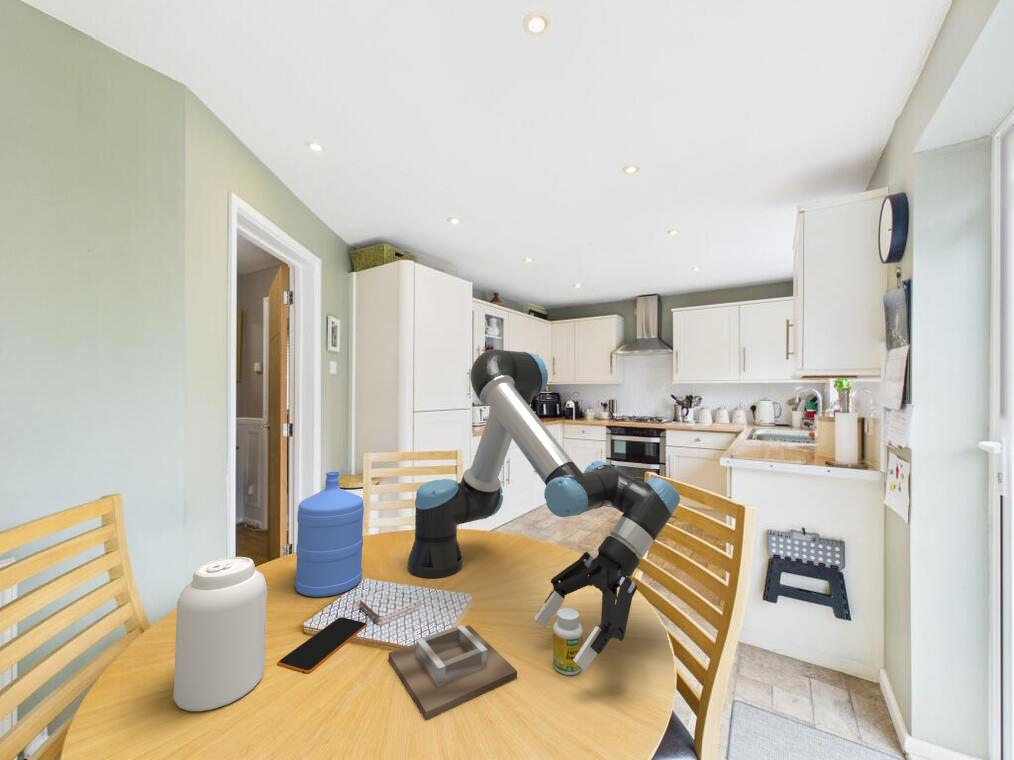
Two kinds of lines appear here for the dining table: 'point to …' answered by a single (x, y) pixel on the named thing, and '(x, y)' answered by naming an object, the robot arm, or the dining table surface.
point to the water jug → (329, 541)
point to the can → (220, 634)
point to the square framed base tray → (450, 669)
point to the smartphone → (322, 645)
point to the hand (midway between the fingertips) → (557, 643)
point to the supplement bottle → (567, 641)
